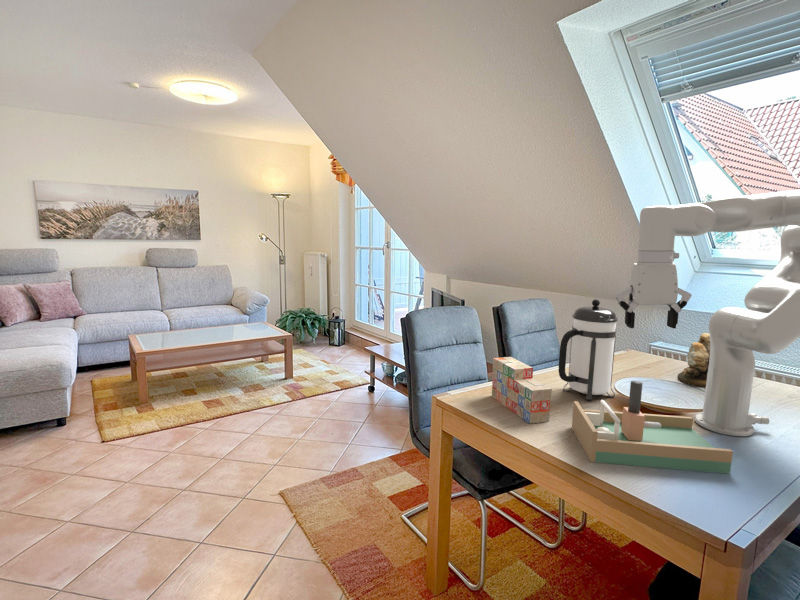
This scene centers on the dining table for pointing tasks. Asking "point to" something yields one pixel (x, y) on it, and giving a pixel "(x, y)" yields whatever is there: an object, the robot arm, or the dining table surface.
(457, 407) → the dining table surface
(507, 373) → the stack of blocks
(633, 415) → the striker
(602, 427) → the ball
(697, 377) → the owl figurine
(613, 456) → the pitch
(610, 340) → the coffee press
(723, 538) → the dining table surface
